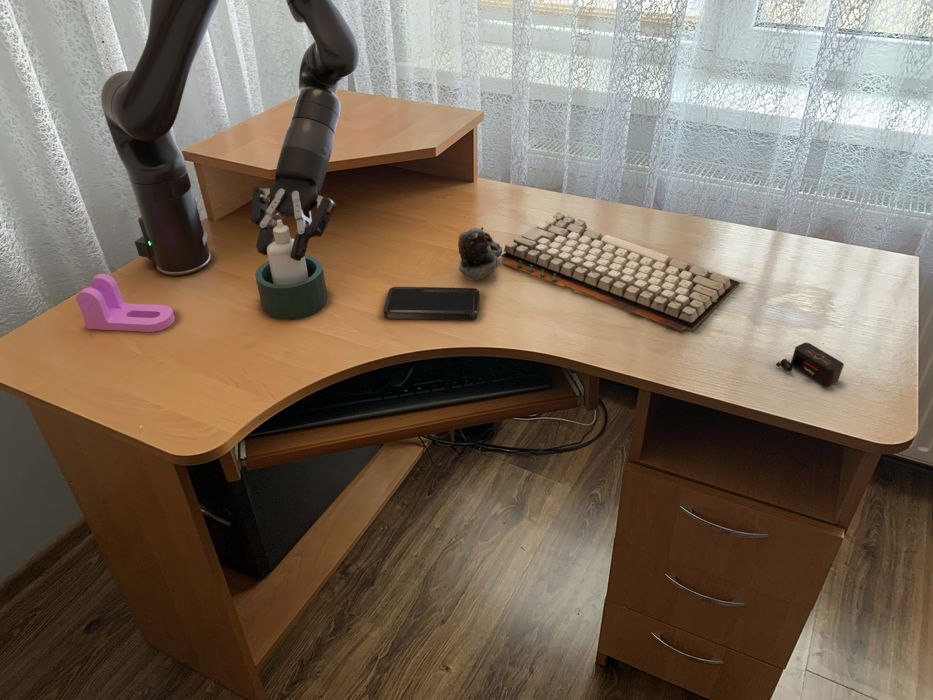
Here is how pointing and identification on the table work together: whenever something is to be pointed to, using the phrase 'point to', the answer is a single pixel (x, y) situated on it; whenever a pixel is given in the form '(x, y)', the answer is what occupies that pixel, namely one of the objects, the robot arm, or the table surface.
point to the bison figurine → (477, 253)
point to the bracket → (119, 309)
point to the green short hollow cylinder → (292, 292)
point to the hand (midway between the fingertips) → (278, 256)
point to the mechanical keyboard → (619, 272)
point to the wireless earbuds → (814, 364)
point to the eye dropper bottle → (285, 258)
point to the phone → (432, 303)
